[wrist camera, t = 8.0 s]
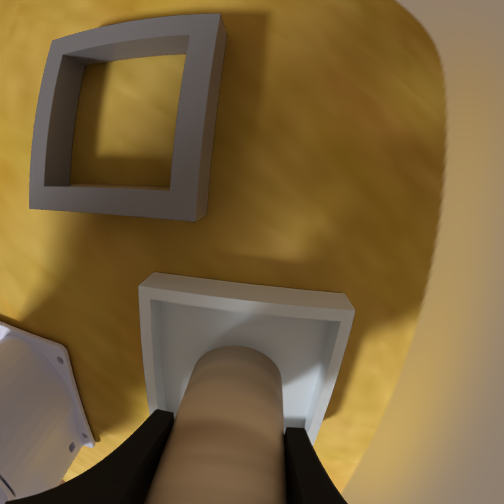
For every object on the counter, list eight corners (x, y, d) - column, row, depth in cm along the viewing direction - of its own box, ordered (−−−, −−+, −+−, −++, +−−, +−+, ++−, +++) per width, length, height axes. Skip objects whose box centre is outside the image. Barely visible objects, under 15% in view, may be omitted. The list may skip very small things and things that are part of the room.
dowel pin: (275, 416, 13) (273, 588, 4) (192, 406, 13) (142, 569, 4) (288, 350, 12) (304, 565, 3) (192, 339, 12) (108, 535, 3)
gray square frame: (206, 215, 12) (195, 221, 10) (54, 203, 12) (29, 209, 10) (227, 35, 10) (220, 13, 8) (74, 52, 10) (52, 40, 9)
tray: (308, 427, 15) (311, 450, 13) (161, 409, 15) (152, 430, 13) (344, 293, 13) (355, 310, 11) (153, 271, 13) (138, 285, 11)
